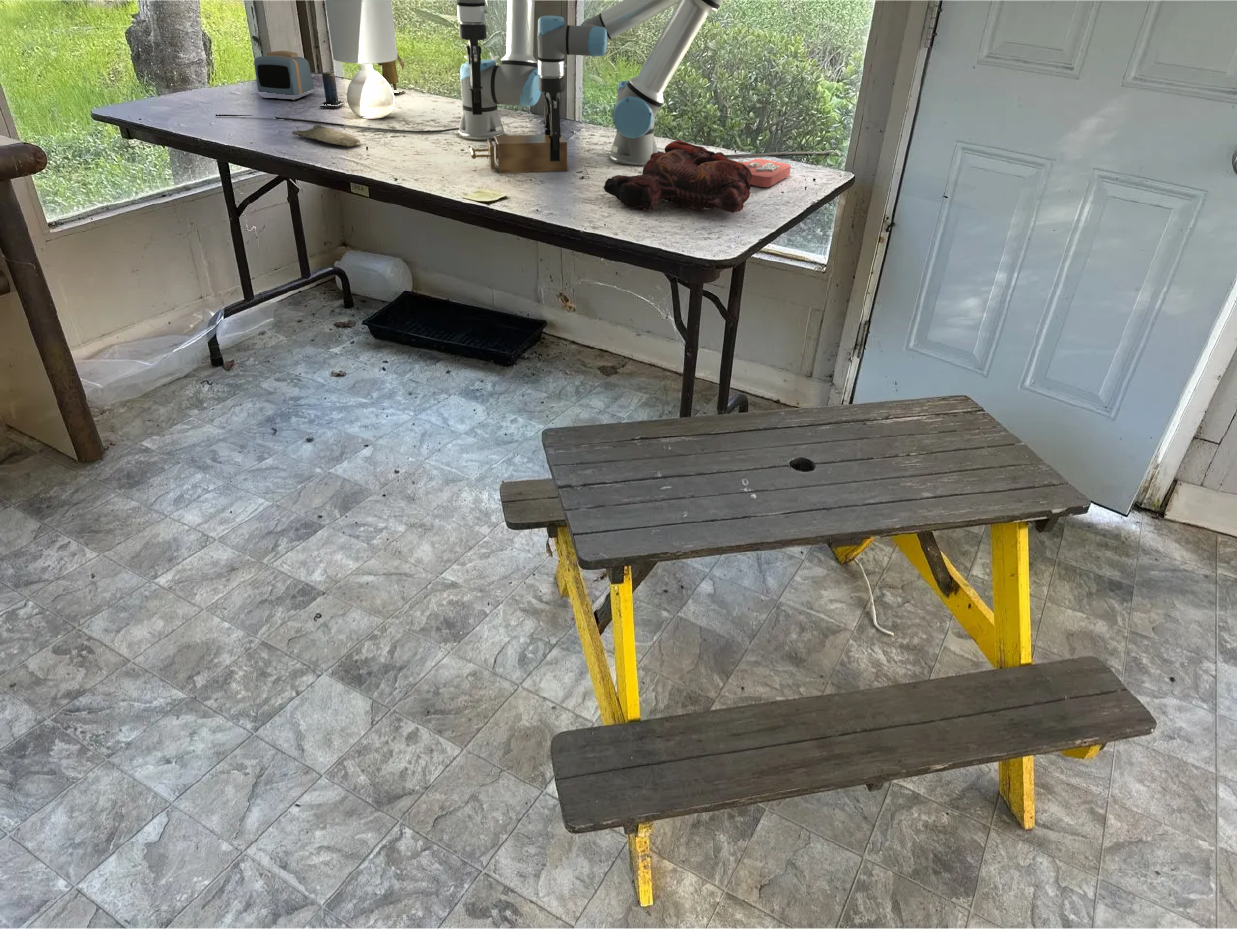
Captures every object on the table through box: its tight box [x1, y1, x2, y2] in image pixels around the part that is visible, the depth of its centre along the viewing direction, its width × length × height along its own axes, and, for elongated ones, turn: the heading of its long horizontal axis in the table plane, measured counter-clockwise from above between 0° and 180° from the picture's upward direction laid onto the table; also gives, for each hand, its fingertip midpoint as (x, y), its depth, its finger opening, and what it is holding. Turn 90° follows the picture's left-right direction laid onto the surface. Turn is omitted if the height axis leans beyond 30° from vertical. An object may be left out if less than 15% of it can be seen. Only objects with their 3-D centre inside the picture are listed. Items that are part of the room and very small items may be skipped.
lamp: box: [324, 0, 398, 120], centre depth 295 cm, size 22×22×40 cm
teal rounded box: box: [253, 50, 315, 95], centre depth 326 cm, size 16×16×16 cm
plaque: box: [739, 158, 792, 188], centre depth 254 cm, size 18×4×15 cm
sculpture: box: [603, 139, 752, 214], centre depth 228 cm, size 43×30×13 cm
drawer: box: [469, 139, 499, 170], centre depth 254 cm, size 25×9×6 cm, turn 102°
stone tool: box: [291, 124, 361, 147], centre depth 276 cm, size 11×3×25 cm
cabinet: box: [494, 133, 568, 174], centre depth 255 cm, size 20×10×8 cm, turn 102°
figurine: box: [377, 52, 405, 96], centre depth 332 cm, size 11×9×30 cm
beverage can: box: [319, 71, 345, 110], centre depth 314 cm, size 9×8×12 cm
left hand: (477, 113), depth 246 cm, fingers closed
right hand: (552, 155), depth 257 cm, fingers closed on cabinet, 10 cm apart
